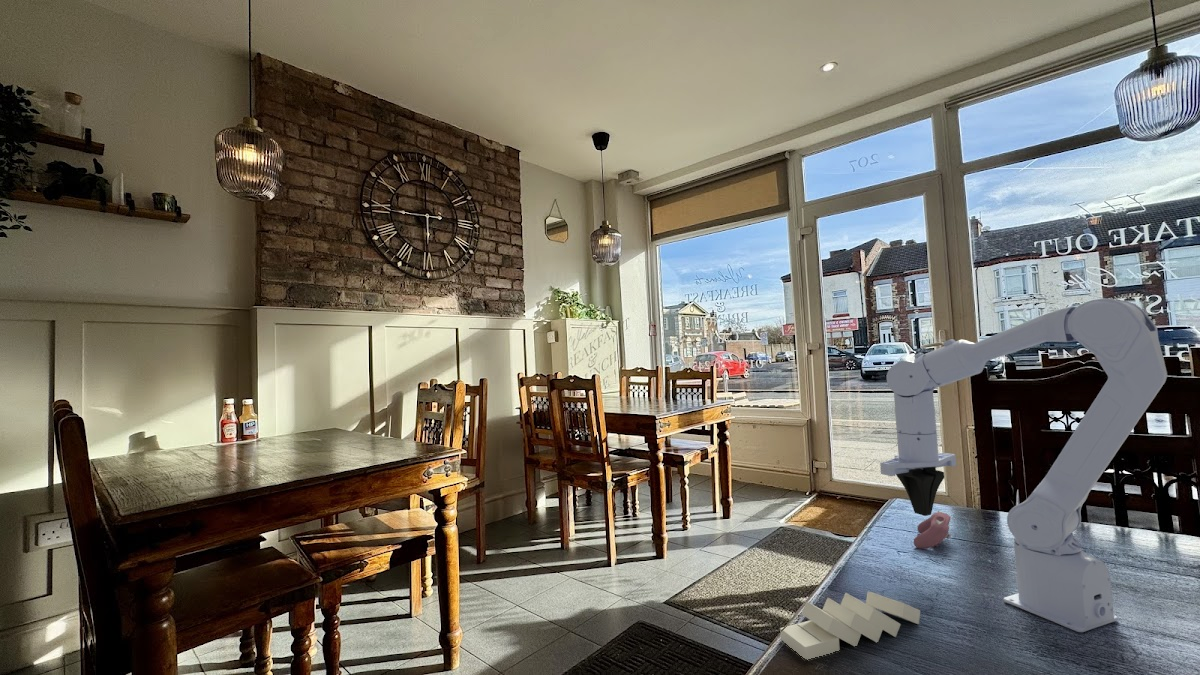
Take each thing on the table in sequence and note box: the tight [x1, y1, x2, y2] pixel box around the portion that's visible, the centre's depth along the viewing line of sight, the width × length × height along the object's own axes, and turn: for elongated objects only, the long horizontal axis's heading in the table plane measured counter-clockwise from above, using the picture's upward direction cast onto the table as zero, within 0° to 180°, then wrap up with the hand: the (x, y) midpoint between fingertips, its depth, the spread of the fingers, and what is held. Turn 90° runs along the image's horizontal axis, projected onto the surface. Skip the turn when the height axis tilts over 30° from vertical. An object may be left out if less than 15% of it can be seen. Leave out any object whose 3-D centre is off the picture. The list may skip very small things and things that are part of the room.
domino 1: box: [779, 620, 841, 661], centre depth 66 cm, size 5×2×5 cm
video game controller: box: [913, 510, 952, 550], centre depth 97 cm, size 10×5×7 cm, turn 144°
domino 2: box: [800, 601, 862, 647], centre depth 67 cm, size 5×2×5 cm
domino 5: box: [865, 590, 921, 625], centre depth 70 cm, size 5×2×5 cm
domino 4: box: [840, 592, 902, 638], centre depth 69 cm, size 5×2×5 cm
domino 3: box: [821, 597, 884, 644], centre depth 68 cm, size 5×2×5 cm
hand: (922, 513), depth 85 cm, fingers closed
